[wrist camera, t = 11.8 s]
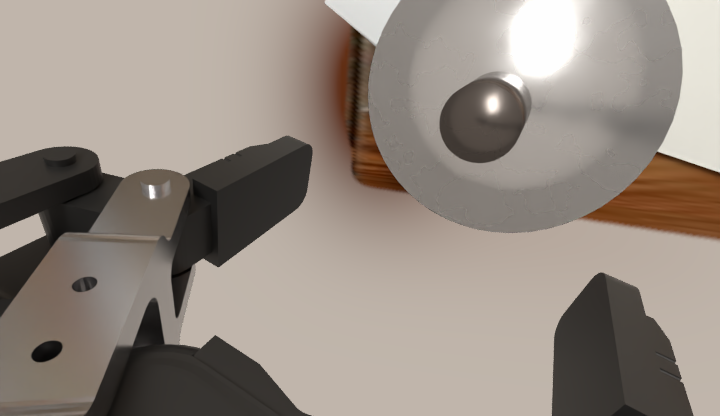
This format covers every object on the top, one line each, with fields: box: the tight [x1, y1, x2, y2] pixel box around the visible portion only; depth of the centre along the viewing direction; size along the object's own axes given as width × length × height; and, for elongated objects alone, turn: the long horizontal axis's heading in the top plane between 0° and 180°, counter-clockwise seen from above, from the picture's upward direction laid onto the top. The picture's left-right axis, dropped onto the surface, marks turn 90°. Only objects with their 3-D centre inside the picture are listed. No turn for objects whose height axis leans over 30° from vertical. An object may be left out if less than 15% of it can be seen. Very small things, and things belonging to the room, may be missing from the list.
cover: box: [368, 0, 683, 233], centre depth 27 cm, size 17×17×24 cm
